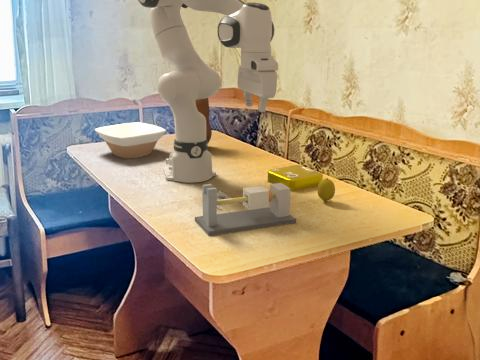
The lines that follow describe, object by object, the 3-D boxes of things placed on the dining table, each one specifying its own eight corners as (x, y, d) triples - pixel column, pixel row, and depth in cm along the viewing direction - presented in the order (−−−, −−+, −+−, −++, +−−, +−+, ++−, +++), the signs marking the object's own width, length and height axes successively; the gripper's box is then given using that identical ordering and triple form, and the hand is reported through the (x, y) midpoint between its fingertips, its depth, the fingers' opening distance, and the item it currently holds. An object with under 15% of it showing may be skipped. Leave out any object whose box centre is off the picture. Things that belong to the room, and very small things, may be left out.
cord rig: (194, 220, 172) (194, 181, 168) (277, 209, 182) (279, 172, 178) (208, 235, 161) (208, 194, 157) (295, 222, 171) (297, 183, 167)
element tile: (324, 185, 207) (325, 172, 205) (291, 192, 199) (291, 179, 197) (297, 175, 219) (298, 163, 217) (265, 181, 211) (265, 168, 209)
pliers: (219, 206, 180) (201, 192, 193) (219, 211, 180) (201, 197, 193) (248, 202, 184) (228, 188, 197) (248, 207, 185) (228, 193, 197)
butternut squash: (176, 147, 256) (174, 90, 249) (204, 144, 262) (203, 88, 255) (188, 154, 244) (187, 94, 237) (217, 151, 250) (217, 92, 243)
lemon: (313, 200, 190) (315, 176, 188) (328, 198, 192) (330, 175, 190) (322, 205, 185) (323, 181, 183) (337, 203, 187) (338, 179, 185)
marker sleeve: (242, 204, 172) (243, 188, 171) (261, 202, 174) (261, 186, 173) (249, 209, 168) (249, 193, 166) (268, 207, 170) (269, 191, 169)
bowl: (90, 153, 245) (89, 128, 242) (140, 144, 261) (139, 121, 258) (120, 165, 228) (119, 138, 225) (172, 154, 244) (171, 129, 241)
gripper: (232, 58, 177) (232, 103, 181) (260, 65, 159) (259, 115, 163) (251, 57, 180) (251, 102, 184) (281, 64, 162) (279, 114, 166)
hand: (255, 109), depth 173 cm, fingers open, 8 cm apart
